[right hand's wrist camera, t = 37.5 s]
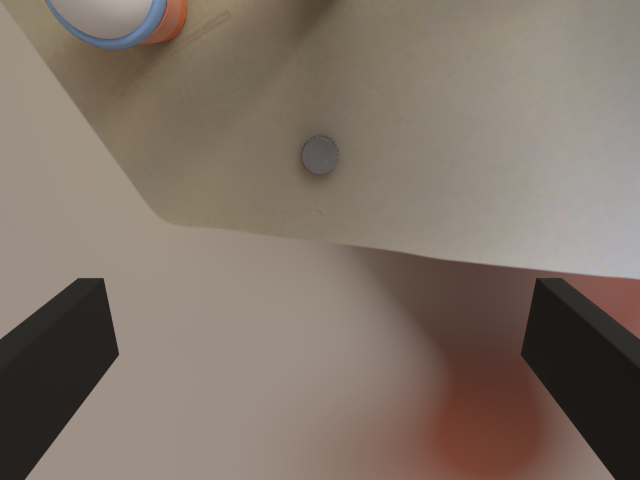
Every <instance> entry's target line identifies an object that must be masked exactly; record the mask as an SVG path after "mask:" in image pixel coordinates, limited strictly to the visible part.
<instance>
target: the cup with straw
mask: <svg viewBox="0 0 640 480" xmlns="http://www.w3.org/2000/svg"><path fill="white" fill-rule="evenodd" d="M45 1H46V3H47V5H48V7H49V8H50V10H51V11H52V13H53V14H54V16H55V17H56V18H57V20H58V21H59V22H60V23H61V24H62V25H63V26H64V27H65V28H66V29H67V30H68V31H69V32H71V33H72V34H73V35H74V36H76V37H77V38H79V39H81V40H82V41H84V42H86V43H88V44H91V45H93V46H96V47H99V48H104V49H112V50H118V49H126V48H130V47H133V46H135V45H138V44H153V43H157V42H163V41H167V40H170V39H172V38H173V37H175V36H176V35H177V34H178V33H179V32H180V30H181V29H182V27H183V25H184V23H185V19H186V12H187V9H186V1H185V0H45Z"/></svg>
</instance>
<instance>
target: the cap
mask: <svg viewBox="0 0 640 480" xmlns="http://www.w3.org/2000/svg"><path fill="white" fill-rule="evenodd" d="M338 156H339V155H338V149H337V147H336V145H335V144H334V141H332V140H331V139H329V138H328V137H325V136H319V135H318V136H314V137H313V138H310V140H308V141H307V143H306V144H305V145H304V147H303V152H302V160H303V163H304V165H305V167H306V168H307V169H308V170H309V171H310V172H312V173H314V174H326V173H328V172H330V171H331V170H333V168H334V167H335V166H336V164H337V161H338Z"/></svg>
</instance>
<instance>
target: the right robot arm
mask: <svg viewBox="0 0 640 480" xmlns="http://www.w3.org/2000/svg"><path fill="white" fill-rule="evenodd" d="M118 355H119V352H118V347H117V342H116V337H115V332H114V327H113V322H112V317H111V312H110V308H109V303H108V298H107V293H106V288H105V283H104V279H103V278H78V279H77V280H75V281H74V282H73V283H72V284H70V285H69V286H68V287H66V288H65V289H64V290H63V291H61V292H60V293H59V294H58V295H56V296H55V297H54V298H52V299H51V300H50V301H49V302H47V303H46V304H45V305H44V306H42V307H41V308H40V309H38V310H37V311H36V312H35V313H33V314H32V315H31V316H30V317H28V318H27V319H26V320H25V321H23V322H22V323H21V324H19V325H18V326H17V327H16V328H14V329H13V330H12V331H11V332H9V333H8V334H7V335H5V336H4V337H3V338H2V339H0V480H25V479H26V477H27V476H28V475H29V473H30V472H31V471H32V469H33V468H34V467H35V465H36V464H37V463H38V461H39V460H40V459H41V457H42V456H43V455H44V453H45V452H46V451H47V449H48V448H49V447H50V446H51V444H52V443H53V442H54V440H55V439H56V438H57V436H58V435H59V434H60V432H61V431H62V430H63V428H64V427H65V426H66V424H67V423H68V422H69V420H70V419H71V418H72V416H73V415H74V414H75V412H76V411H77V410H78V408H79V407H80V406H81V404H82V403H83V402H84V400H85V399H86V398H87V396H88V395H89V394H90V392H91V391H92V390H93V389H94V387H95V386H96V384H97V383H98V382H99V381H100V379H101V378H102V377H103V375H104V374H105V373H106V371H107V370H108V369H109V367H110V366H111V365H112V363H113V362H114V361H115V359H116V358H117V357H118ZM521 355H522V357H523V358H524V359H525V361H526V362H527V363H528V365H529V366H530V367H531V369H532V370H533V371H534V373H535V374H536V375H537V377H538V378H539V379H540V381H541V382H542V383H543V385H544V386H545V387H546V389H547V390H548V391H549V393H550V394H551V395H552V397H553V398H554V399H555V400H556V402H557V403H558V404H559V406H560V407H561V408H562V410H563V411H564V412H565V414H566V415H567V416H568V418H569V419H570V420H571V422H572V423H573V424H574V426H575V427H576V428H577V430H578V431H579V432H580V434H581V435H582V436H583V438H584V439H585V440H586V442H587V443H588V444H589V445H590V447H591V448H592V449H593V451H594V452H595V453H596V455H597V456H598V457H599V459H600V460H601V461H602V463H603V464H604V465H605V467H606V468H607V469H608V471H609V472H610V473H611V475H612V476H613V477H614V479H615V480H640V339H638V338H637V337H636V336H635V335H633V334H632V333H631V332H630V331H628V330H627V329H626V328H624V327H623V326H622V325H621V324H619V323H618V322H617V321H616V320H614V319H613V318H612V317H610V316H609V315H608V314H607V313H605V312H604V311H603V310H602V309H600V308H599V307H598V306H596V305H595V304H594V303H593V302H591V301H590V300H589V299H588V298H586V297H585V296H584V295H582V294H581V293H580V292H579V291H577V290H576V289H575V288H573V287H572V286H571V285H570V284H568V283H567V282H566V281H565V280H563V279H562V278H537V279H536V283H535V288H534V293H533V298H532V303H531V308H530V313H529V317H528V322H527V327H526V332H525V337H524V342H523V347H522V352H521Z"/></svg>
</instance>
